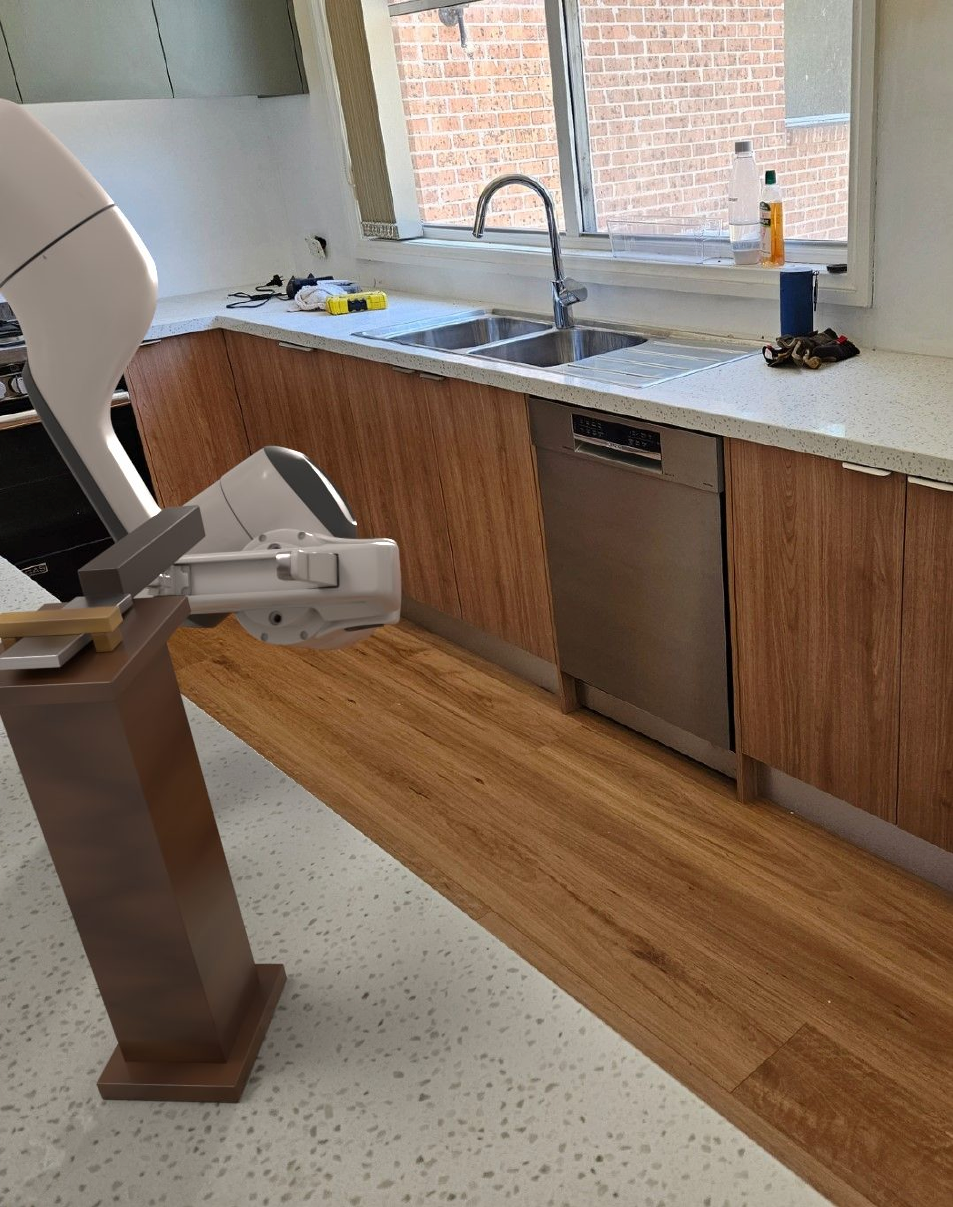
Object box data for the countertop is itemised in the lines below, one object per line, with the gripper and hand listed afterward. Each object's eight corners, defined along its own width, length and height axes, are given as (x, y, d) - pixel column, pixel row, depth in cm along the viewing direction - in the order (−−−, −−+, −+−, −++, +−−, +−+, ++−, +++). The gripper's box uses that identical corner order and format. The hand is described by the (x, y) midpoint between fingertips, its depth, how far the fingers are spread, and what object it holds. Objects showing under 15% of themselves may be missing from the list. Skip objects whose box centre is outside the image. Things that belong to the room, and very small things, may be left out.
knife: (-2, 670, 48) (-14, 629, 47) (166, 539, 65) (158, 507, 64) (60, 667, 47) (48, 626, 47) (212, 536, 64) (206, 504, 64)
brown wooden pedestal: (101, 1099, 59) (-68, 654, 47) (165, 977, 67) (34, 571, 55) (239, 1102, 58) (99, 645, 46) (287, 978, 66) (179, 562, 54)
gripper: (163, 555, 84) (66, 529, 71) (417, 539, 81) (367, 509, 67) (164, 635, 84) (67, 625, 70) (420, 623, 80) (370, 609, 67)
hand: (216, 568), depth 69 cm, fingers open, 8 cm apart
